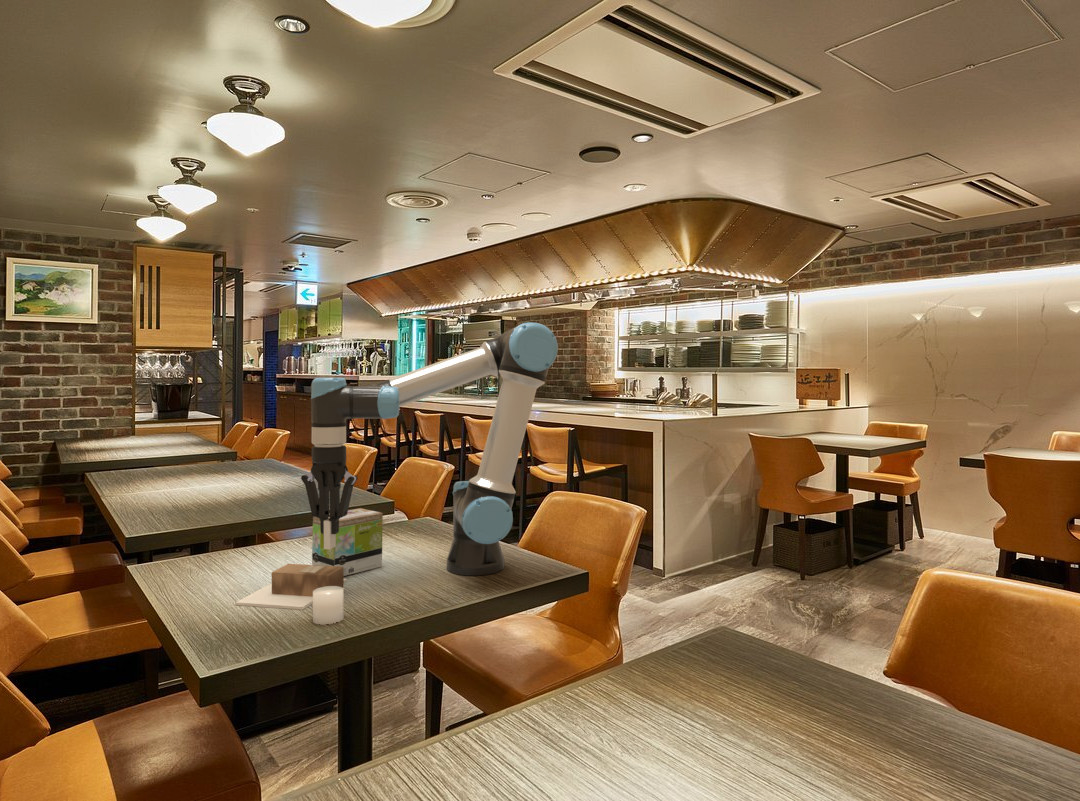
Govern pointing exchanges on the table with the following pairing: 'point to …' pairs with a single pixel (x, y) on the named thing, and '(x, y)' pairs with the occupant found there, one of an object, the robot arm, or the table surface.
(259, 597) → the felt mat
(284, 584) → the wooden block
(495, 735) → the table surface
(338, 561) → the tea box
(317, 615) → the white pillar candle
